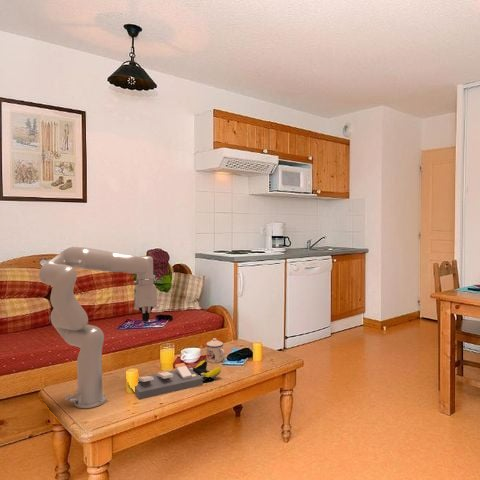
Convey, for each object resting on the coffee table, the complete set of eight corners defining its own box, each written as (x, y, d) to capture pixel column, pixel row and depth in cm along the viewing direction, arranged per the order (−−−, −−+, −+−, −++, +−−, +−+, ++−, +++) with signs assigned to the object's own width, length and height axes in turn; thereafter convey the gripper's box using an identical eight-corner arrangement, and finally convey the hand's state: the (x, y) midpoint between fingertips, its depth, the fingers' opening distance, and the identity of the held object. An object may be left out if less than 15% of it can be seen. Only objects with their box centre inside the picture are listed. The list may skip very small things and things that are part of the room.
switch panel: (139, 399, 169) (139, 390, 168) (128, 385, 182) (128, 377, 182) (202, 384, 183) (202, 376, 183) (188, 373, 197) (188, 365, 197)
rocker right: (182, 379, 182) (183, 376, 182) (174, 366, 190) (175, 364, 190) (191, 377, 184) (192, 374, 184) (183, 365, 192) (183, 362, 192)
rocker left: (143, 381, 172) (143, 378, 173) (137, 380, 181) (136, 377, 181) (153, 379, 175) (153, 376, 175) (146, 378, 183) (146, 375, 183)
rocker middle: (163, 378, 177) (163, 375, 177) (156, 375, 186) (156, 372, 186) (173, 376, 179) (173, 373, 179) (165, 373, 188) (165, 370, 188)
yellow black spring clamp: (204, 369, 202) (187, 374, 196) (204, 359, 202) (187, 363, 196) (222, 378, 191) (205, 384, 185) (222, 367, 191) (205, 372, 184)
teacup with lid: (202, 360, 216) (202, 338, 215) (215, 356, 223) (215, 335, 222) (217, 365, 208) (217, 343, 207) (230, 361, 214) (230, 339, 214)
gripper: (131, 284, 184) (132, 324, 184) (163, 282, 191) (163, 320, 192) (127, 282, 190) (127, 321, 191) (157, 280, 198) (158, 317, 198)
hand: (145, 320), depth 191 cm, fingers closed
